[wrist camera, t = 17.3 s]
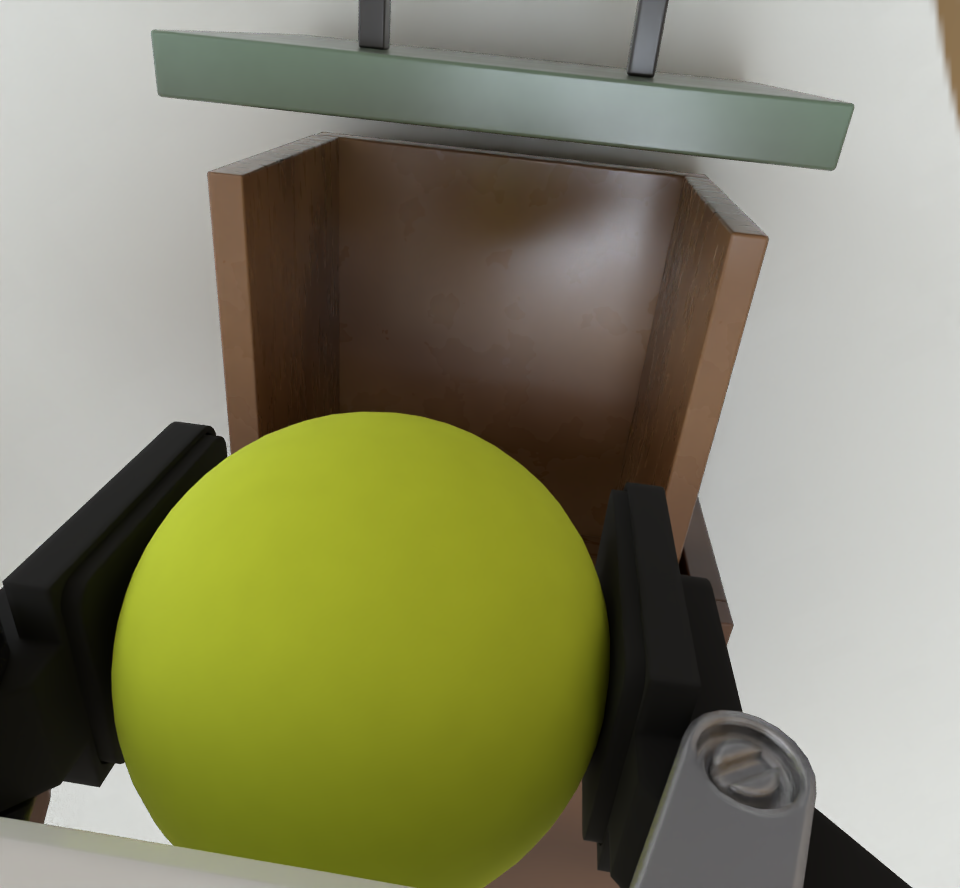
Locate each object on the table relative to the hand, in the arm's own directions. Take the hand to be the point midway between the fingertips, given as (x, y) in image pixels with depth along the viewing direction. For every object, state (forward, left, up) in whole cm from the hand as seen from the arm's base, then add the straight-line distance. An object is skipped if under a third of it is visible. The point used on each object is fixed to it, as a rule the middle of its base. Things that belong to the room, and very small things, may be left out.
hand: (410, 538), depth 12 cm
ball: (0, 0, +2) cm, 2 cm away
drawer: (0, +1, -15) cm, 15 cm away
